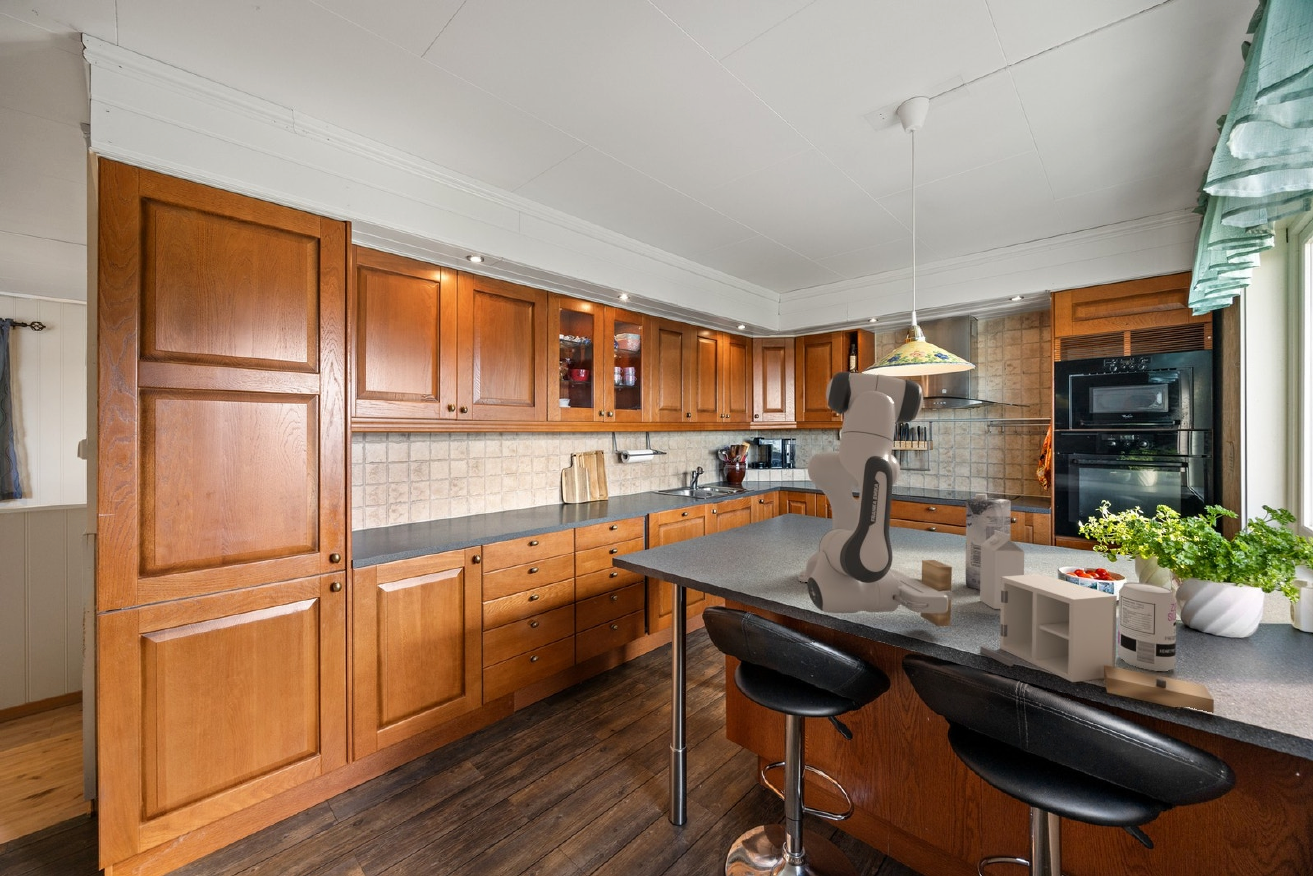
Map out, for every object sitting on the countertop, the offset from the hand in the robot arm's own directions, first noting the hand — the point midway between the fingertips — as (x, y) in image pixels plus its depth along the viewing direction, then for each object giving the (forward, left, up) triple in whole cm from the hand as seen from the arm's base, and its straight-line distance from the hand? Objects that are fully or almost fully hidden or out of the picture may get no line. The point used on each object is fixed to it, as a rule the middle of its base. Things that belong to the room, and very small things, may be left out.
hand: (939, 588), depth 119 cm
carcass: (+18, -7, -10) cm, 22 cm away
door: (+33, -13, -10) cm, 37 cm away
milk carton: (+12, +29, -10) cm, 33 cm away
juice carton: (+9, +45, -10) cm, 47 cm away
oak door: (-1, 0, -7) cm, 7 cm away
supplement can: (+35, +3, -10) cm, 37 cm away
